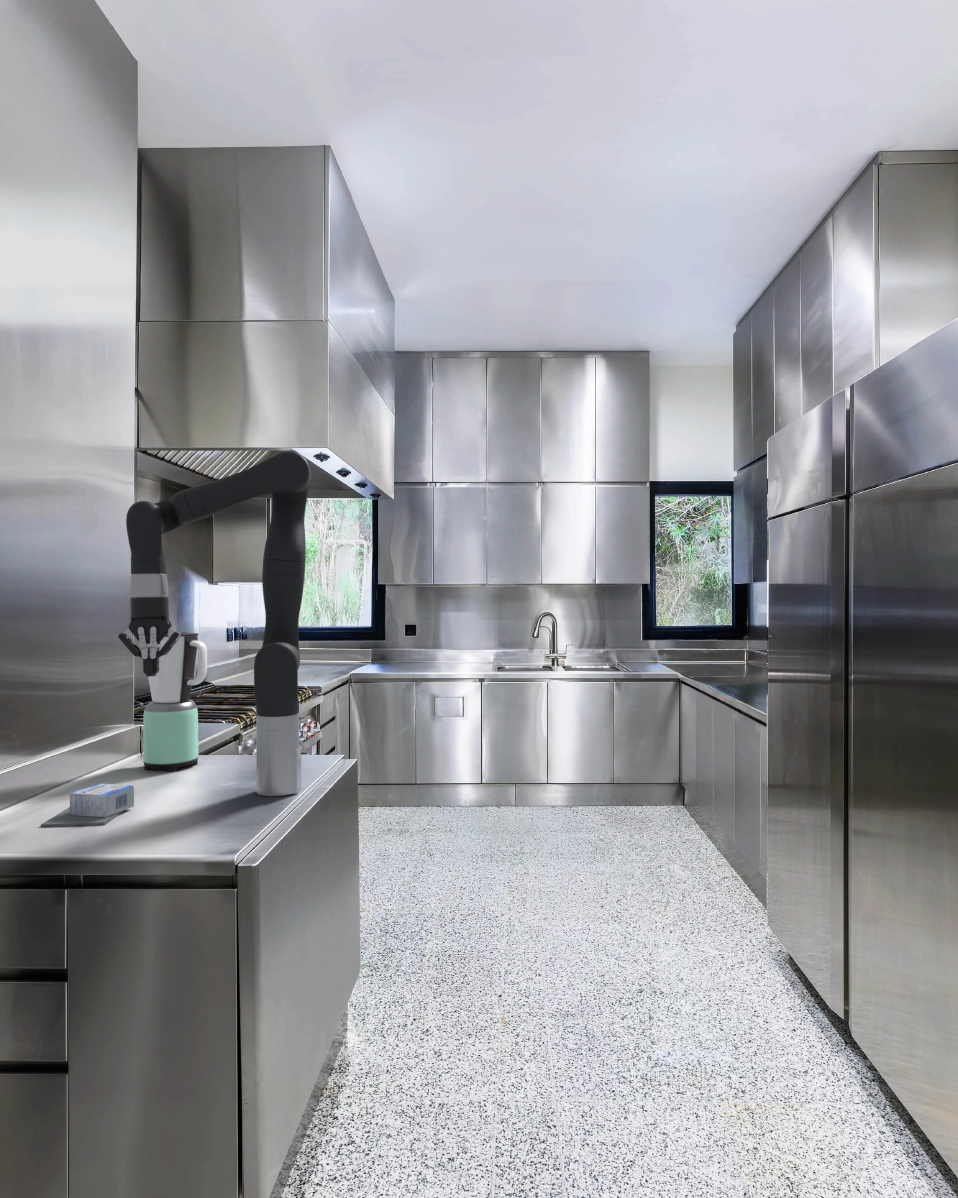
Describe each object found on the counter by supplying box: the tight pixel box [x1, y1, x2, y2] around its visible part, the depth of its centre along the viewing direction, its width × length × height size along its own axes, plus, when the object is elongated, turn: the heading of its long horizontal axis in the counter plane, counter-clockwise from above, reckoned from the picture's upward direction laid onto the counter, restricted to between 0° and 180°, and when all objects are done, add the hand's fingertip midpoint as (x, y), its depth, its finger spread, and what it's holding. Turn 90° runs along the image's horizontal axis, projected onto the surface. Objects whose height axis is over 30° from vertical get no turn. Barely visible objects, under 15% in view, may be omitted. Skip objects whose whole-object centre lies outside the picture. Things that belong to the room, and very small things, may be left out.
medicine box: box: [69, 783, 135, 817], centre depth 145 cm, size 8×4×9 cm
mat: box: [40, 806, 125, 828], centre depth 143 cm, size 12×12×1 cm
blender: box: [139, 629, 208, 773], centre depth 186 cm, size 19×13×35 cm
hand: (151, 676), depth 156 cm, fingers closed
